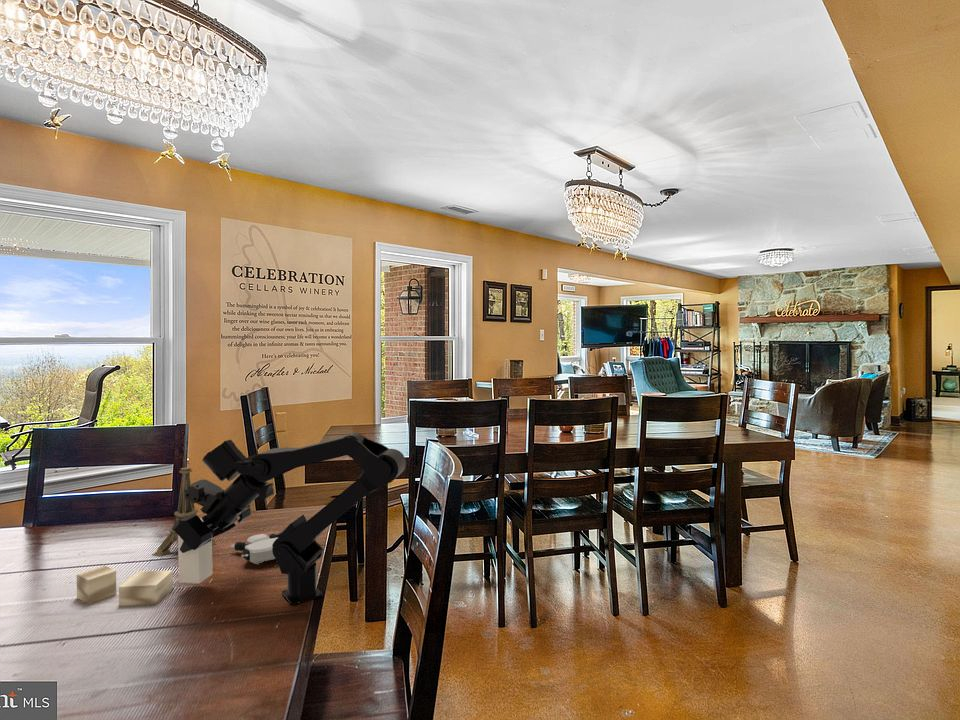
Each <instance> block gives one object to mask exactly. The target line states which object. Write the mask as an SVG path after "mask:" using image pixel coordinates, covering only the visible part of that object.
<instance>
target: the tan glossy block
mask: <svg viewBox="0 0 960 720" xmlns="http://www.w3.org/2000/svg"><path fill="white" fill-rule="evenodd" d="M173 588H174V570H173V569H171V570H150V571H137V572H135V573H134V574H133V575H132V576H130V577H129V578H128V579H126V580H125V581H124V582H123V583H122V584H121V585H119V586H118V606H119V607H120V606H124V607H125V606H139V605H140V606H141V605H155V604H156V605H157V604H158V603H159V602H160V601H161V600H162V599H163V598H164V597H165V596H166V595H167V594H169V592H170V591H171V590H172V589H173Z"/></svg>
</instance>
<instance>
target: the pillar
mask: <svg viewBox="0 0 960 720" xmlns="http://www.w3.org/2000/svg"><path fill="white" fill-rule="evenodd" d="M199 518H200V519H201V518H202V517H199ZM201 520H202V519H201ZM203 522H204V521H203ZM211 526H212V525H211ZM212 539H213V538H211V541H210V542H208V543H207V544H205V545H203V546H201V547H199V548H198V549H196V550H193V549H192V550H190V551H187V552H185V553H182V552H181V551H180V547H181V545H182V543H183V540H182V539H181V538H180V536H179V535H178V539H177V543H178V544H177V545H178V546H177V549H178V553H177V554H178V560H177V561H178V584H179V583H180V584H181V583H182V584H186V583H187V584H201V583H202V582H203V581H205V580H206V579H208V578H209V577H210V576H212V575H213V574H214V573H213V549H212Z"/></svg>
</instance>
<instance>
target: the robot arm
mask: <svg viewBox="0 0 960 720" xmlns="http://www.w3.org/2000/svg"><path fill="white" fill-rule="evenodd" d="M345 456H347V457H349V458H351V459H352V460H353V461H354V462H355V463H356V464H357V466H359V467H360V468H361V469H363V471H362V473H360V475H359V477H358V478H356V480H355V481H354V482H353V483H352V484H351V485H349V486H347V488H346V489H344V490H343V491H342V492H341V493H340V494H337V496H336V497H335V498H333V499H332V500H330V502H328V503H327V504H326V505H325V506H324V507H322V508H321V509H320V510H319V511H318V512H316V513H315V514H314V515H313V516H311V517H309V518H306V517H305V515H304V514H301V515H300V516H299V517H298V518H296V519H295V520H293V521H292V522H291V523H290V524H288V525H287V526H286V527H285V528H284V529H283V530H281V531H280V532H278V533H277V534H276V537H277V539H276V540H275V541H274V542H273V545H272V551H273V555H274V557H275V559H274V560H276V561H277V564H278V567H279V570H280V573H281V574H282V575H286V581H287V583H286V588H287V589H285V590H282V591H281V593H282V594H283V595H284V596H285V597H286V599H287V600H288V601H289V602H290V603H291V604H295V603H298V602H302V601H305V602H307V601H306V600H308V601H311V600H315V599H318V598H321V597H323V596H324V595H323V594H324V593H323V592H322V591H321V590H320V589H319V588H318V587H317V562H318V560H320V559H321V558H322V556H323V553H324V548H323V547H322V546H321V545H320V543H318V542H317V540H318V539H319V537H320V536H321V534H322V533H323V531H325V530H326V529H327V528H328V527H330V526H331V525H332V524H333V523H334V522H336V520H338V519H339V518H340V517H341V516H343V515H344V514H346V512H348V511H349V510H350V509H352V508H353V506H355V505H356V504H357V503H359V501H361V500H362V499H363V498H364V497H366V496H368V495H369V494H371V493H374V492H375V491H378V490H379V489H381V488H383V487H385V486H387V485H388V484H390V483H392V482H394V480H395V479H396V478H398V477H399V476H400V475H401V474H403V472H404V471H405V469H406V465H407V464H406V463H407V462H406V457H405V455H404V454H403V453H402V452H401V451H400V450H399V449H396V448H389V447H388V446H386V445H385V444H382V443H379V442H377V441H375V440H372V439H370V438H368V437H366V436H364V435H363V434H361V433H360V432H352V433H350V434H347V435H344V436H341V437H337V438H332V439H329V440H325V441H324V440H323V441H321V442H318V443H317V442H316V443H312V444H309V445H304V446H301V447H289V446H287V447H274V448H270V449H268V450H266V451H262V452H260V453H257V454H253V455H251V456H246V455H245V454H244V453H242V451H241V450H240V449H239V448H238V447H237V445H236V444H235V442H234V441H233V440H232V439H227V440H223V442H222V443H221V444H220V445H218V446H216V447H215V448H213V449H212V450H210V451H208V452H207V453H206V454H205V455H204V456H203V458H202V462H203V464H204V465H205V466H206V467H207V469H209V470H210V471H211V472H212V474H214V476H215V477H217V478H218V480H219V481H221V482H223V481H225V480H226V481H227V482H230V481H232V480H233V481H232V482H231V483H230V484H229V485H228V487H226V488H225V489H223V488H222V487H221V486H219V485H217V484H215V483H214V482H211V481H209V480H207V479H204V478H203V479H199V480H197V481H195V482H191V485H190V486H189V487H188V489H187V490H185V491H184V493H185V499H186V500H188V501H190V502H192V503H194V505H195V504H197V505H199V506H202V507H201V508H200V512H202V513H203V514H205V515H204V516H202V517H199V515H197V514H196V515H190V516H188V517H186V518H184V519H182V520H180V521H179V522H178V523H177V524H176V525H175V526H174V525H173V526H174V531H175V532H176V533H177V534H178V535H179V536H180V538H181V539H182V540H183V543H182V545H181V547H180V551H181V552H182V553H185V552H187V551H190V550H192V549H193V550H196V549H198V548H199V547H201V546H203V545H205V544H207V543H208V542H210V541H211V538H212V539H213V538H215V537H218V536H220V535H222V534H224V533H226V532H228V531H230V530H232V529H234V528H235V527H236V523H237V524H241V523H243V522H245V521H246V520H247V519H248V518H249V517H250V516H251V515H252V513H251V512H252V511H251V510H252V509H251V508H250V507H251V504H252V503H253V502H254V501H255V500H256V499H257V498H258V497H259V496H260V497H261V498H262V499H263V500H266V499H267V498H269V497H272V496H273V495H274V494H275V493H274V492H275V490H274V483H273V482H269V481H270V480H273V479H275V478H277V477H279V476H281V475H283V474H286V473H288V472H289V471H292V470H295V469H297V468H300V467H305V466H309V465H312V464H317V463H321V462H324V461H329V460H333V459H337V458H341V457H345ZM200 518H201V519H202V520H201V519H200ZM203 521H204V522H203ZM236 521H237V522H236ZM211 525H212V526H211ZM282 594H281V595H282ZM283 595H282V596H283ZM284 596H283V597H284ZM286 599H285V600H286ZM310 599H311V600H310ZM287 600H286V601H287ZM288 601H287V602H288ZM289 602H288V603H289ZM290 603H289V604H290ZM302 603H303V602H302ZM291 604H290V605H291ZM298 604H299V603H298ZM295 605H296V604H295Z"/></svg>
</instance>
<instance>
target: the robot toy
mask: <svg viewBox="0 0 960 720" xmlns="http://www.w3.org/2000/svg"><path fill="white" fill-rule="evenodd" d="M276 535H277V534H276V533H271V534H270V535H269V536H268V535H267V534H266V533H260V534H255V535H251V536H249V537H248V538H247V540H246V542H245V541H244V542H243V541H237V542H236V543H233V544H231V545H230V548H231V549H234V551H239V552H242V553H241V555H240V557H241V558H243V559H245V560H246V561H247V562H249V563H253V564H254V565H260V564H259V563H262V562H264V561H265V562H267V561H272V560H276V559H275V557H274V555H273V551H272V545H273V542H274V541H275V540H276V539H277V538H278V537H276ZM265 562H264V563H265ZM262 564H263V563H262Z"/></svg>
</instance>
